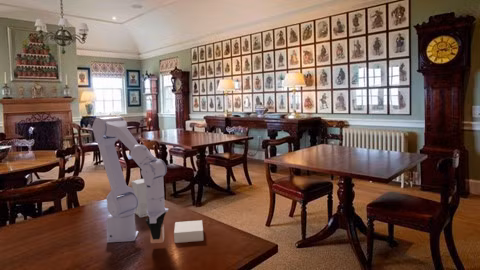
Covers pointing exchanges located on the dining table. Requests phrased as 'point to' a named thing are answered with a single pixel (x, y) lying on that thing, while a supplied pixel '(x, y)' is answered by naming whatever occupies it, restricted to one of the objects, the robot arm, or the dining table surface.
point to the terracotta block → (160, 236)
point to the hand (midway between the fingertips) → (157, 236)
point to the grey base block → (188, 231)
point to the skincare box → (140, 197)
